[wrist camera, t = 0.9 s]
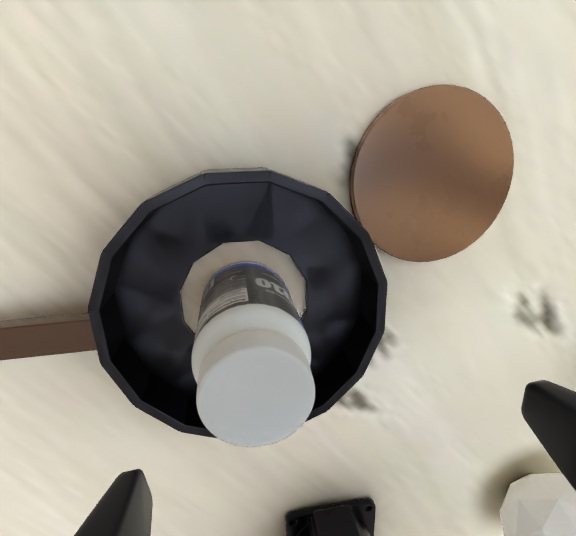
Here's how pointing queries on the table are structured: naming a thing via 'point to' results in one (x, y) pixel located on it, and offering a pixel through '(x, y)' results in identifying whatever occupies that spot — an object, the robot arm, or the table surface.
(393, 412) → the table surface
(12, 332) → the pan
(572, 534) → the ball
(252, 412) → the pill bottle
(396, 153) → the disc
